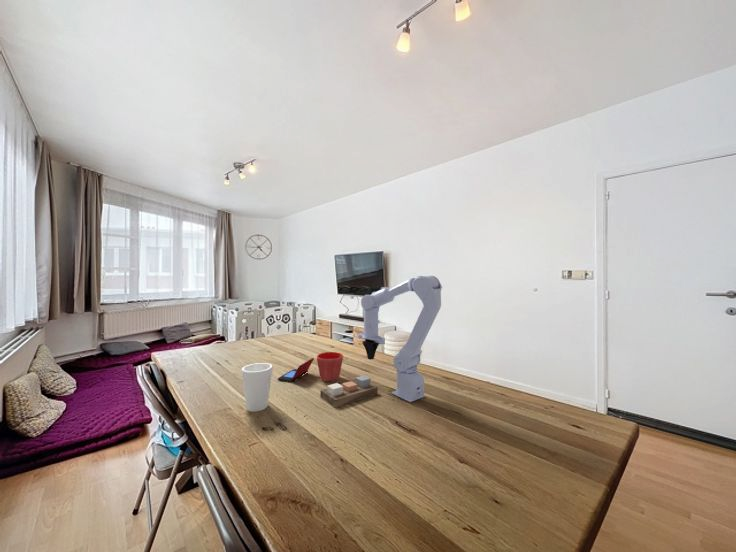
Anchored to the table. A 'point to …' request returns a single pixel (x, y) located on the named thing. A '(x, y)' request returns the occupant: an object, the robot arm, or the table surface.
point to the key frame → (349, 395)
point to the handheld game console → (296, 372)
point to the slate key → (362, 381)
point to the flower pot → (329, 365)
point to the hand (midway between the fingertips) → (370, 358)
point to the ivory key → (334, 389)
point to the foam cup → (256, 385)
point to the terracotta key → (349, 386)
